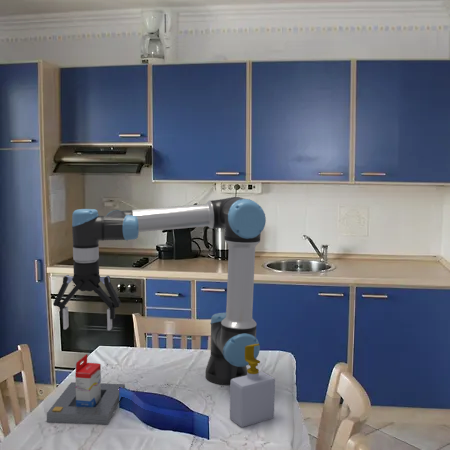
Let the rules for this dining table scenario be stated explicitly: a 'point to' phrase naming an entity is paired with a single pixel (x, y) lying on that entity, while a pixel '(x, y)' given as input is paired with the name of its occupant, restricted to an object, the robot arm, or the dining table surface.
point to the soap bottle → (252, 394)
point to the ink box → (87, 383)
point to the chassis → (98, 414)
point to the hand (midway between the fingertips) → (87, 328)
